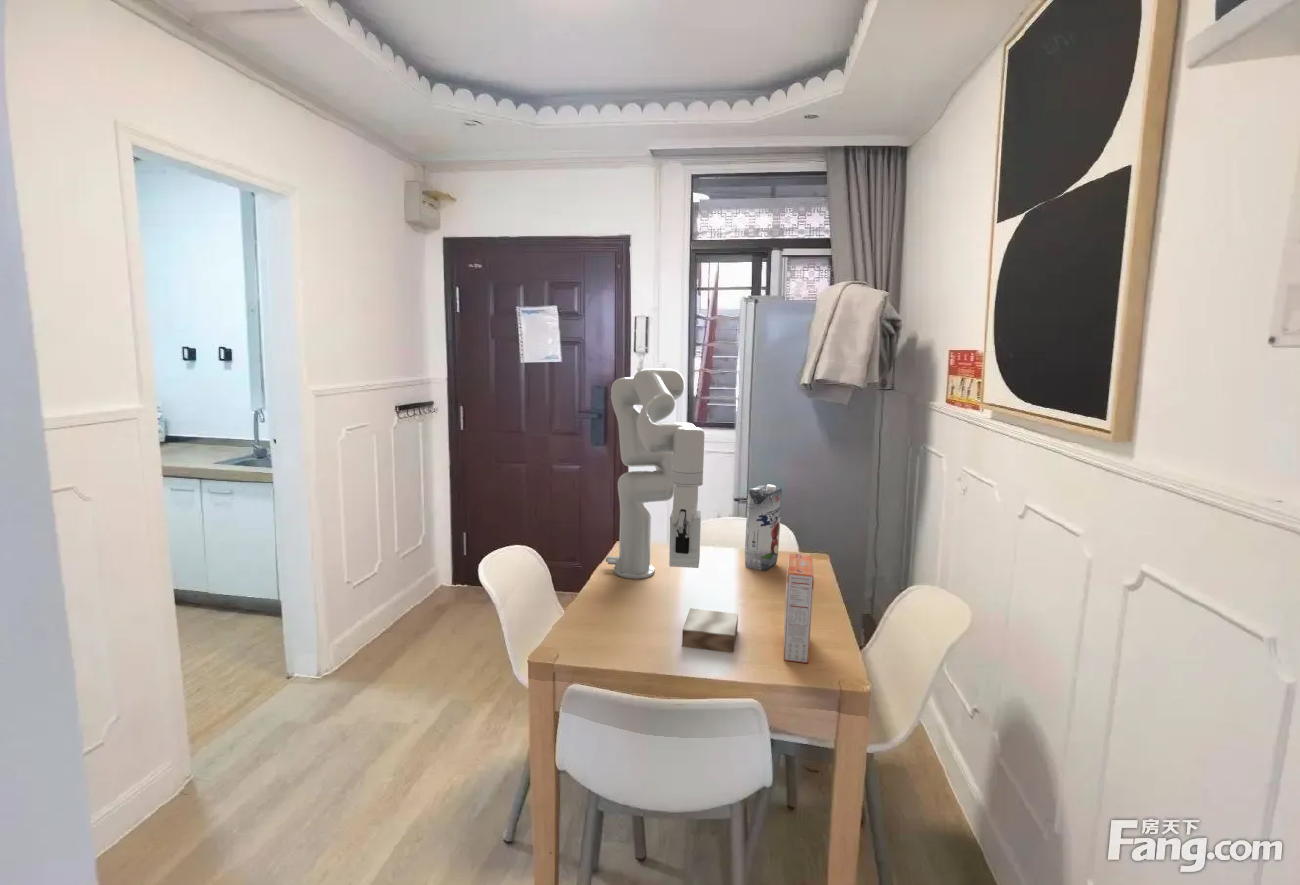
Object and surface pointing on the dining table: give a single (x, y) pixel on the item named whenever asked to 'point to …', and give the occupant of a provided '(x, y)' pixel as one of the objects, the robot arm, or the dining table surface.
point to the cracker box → (798, 608)
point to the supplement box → (694, 544)
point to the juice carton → (762, 527)
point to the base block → (710, 630)
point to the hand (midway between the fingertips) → (685, 547)
